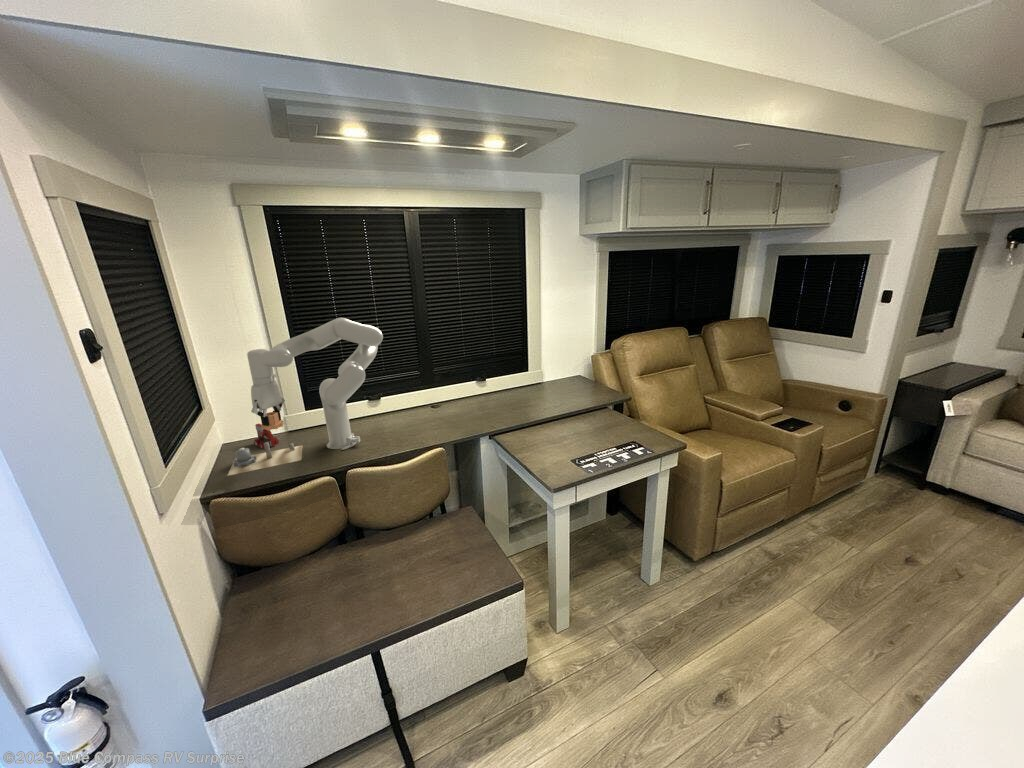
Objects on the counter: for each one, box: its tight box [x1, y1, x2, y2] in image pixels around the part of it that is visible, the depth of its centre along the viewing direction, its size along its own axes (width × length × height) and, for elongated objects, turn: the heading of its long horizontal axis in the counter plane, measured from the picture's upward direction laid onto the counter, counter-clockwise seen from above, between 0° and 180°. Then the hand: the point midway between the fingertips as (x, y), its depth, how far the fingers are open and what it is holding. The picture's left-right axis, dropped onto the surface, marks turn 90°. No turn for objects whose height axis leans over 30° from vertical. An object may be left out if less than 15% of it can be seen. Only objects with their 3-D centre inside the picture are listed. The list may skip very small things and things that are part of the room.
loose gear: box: [261, 411, 285, 431], centre depth 159 cm, size 8×8×6 cm
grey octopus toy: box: [232, 447, 257, 468], centre depth 160 cm, size 8×8×7 cm
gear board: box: [226, 442, 304, 477], centre depth 162 cm, size 26×16×8 cm, turn 116°
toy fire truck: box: [253, 423, 280, 450], centre depth 177 cm, size 7×12×10 cm, turn 57°
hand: (271, 422), depth 159 cm, fingers closed on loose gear, 5 cm apart
